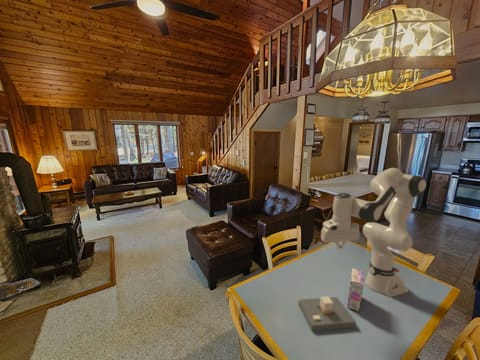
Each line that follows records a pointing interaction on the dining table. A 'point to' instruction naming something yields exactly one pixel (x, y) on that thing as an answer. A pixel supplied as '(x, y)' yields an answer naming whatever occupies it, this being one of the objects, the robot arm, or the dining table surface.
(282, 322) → the dining table surface
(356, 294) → the candy box
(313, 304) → the socket
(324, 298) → the cream and tan block
